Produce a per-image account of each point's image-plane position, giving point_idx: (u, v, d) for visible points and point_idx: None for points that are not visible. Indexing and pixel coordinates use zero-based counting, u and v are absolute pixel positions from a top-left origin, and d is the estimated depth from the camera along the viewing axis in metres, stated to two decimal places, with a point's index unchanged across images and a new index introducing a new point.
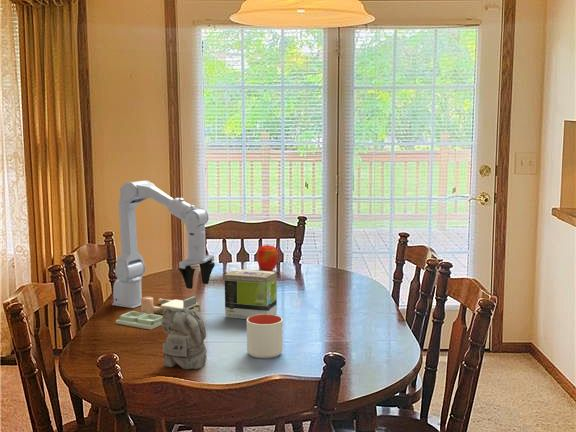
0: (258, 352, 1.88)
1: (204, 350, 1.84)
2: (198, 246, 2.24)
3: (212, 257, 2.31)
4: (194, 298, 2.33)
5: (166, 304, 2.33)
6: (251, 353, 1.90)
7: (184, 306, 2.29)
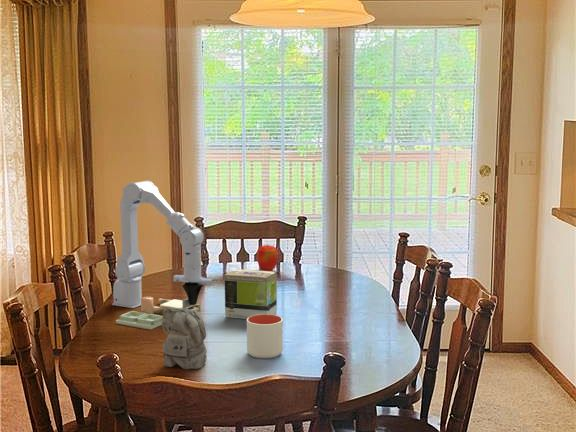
0: (258, 352, 1.88)
1: (204, 350, 1.84)
2: (194, 265, 2.27)
3: (206, 282, 2.26)
4: None
5: (165, 304, 2.33)
6: (251, 353, 1.90)
7: (183, 306, 2.29)
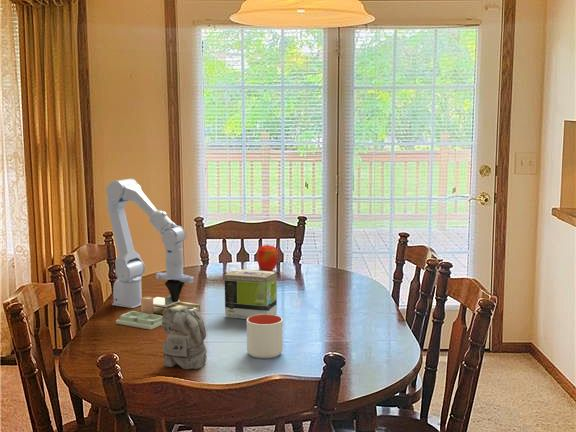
0: (258, 352, 1.88)
1: (204, 350, 1.84)
2: (176, 263, 2.30)
3: (188, 279, 2.29)
4: None
5: None
6: (251, 353, 1.90)
7: (166, 303, 2.33)
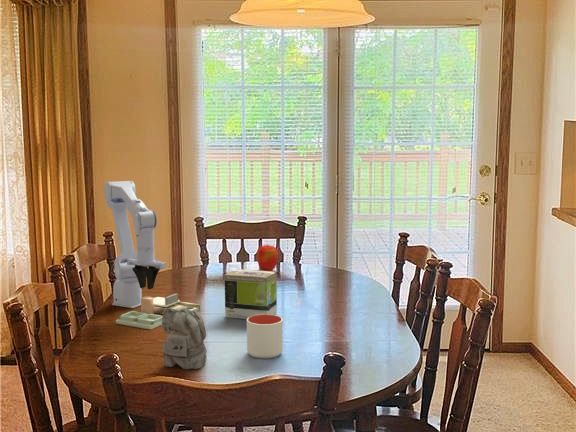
0: (258, 352, 1.88)
1: (204, 350, 1.84)
2: (142, 248, 2.23)
3: (159, 264, 2.23)
4: (176, 295, 2.37)
5: None
6: (251, 353, 1.90)
7: (166, 303, 2.33)
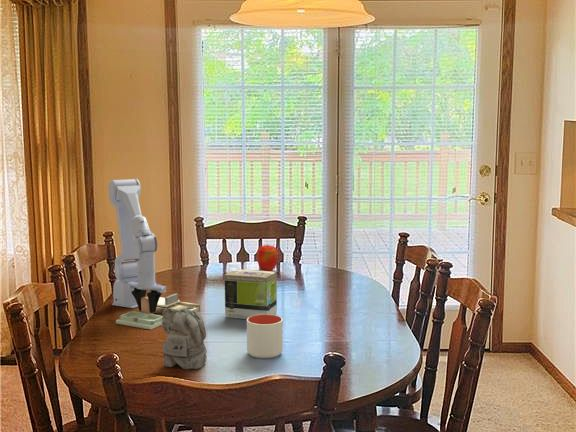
0: (258, 352, 1.88)
1: (204, 350, 1.84)
2: (142, 272, 2.24)
3: (160, 289, 2.24)
4: (176, 295, 2.37)
5: None
6: (251, 353, 1.90)
7: (166, 303, 2.33)
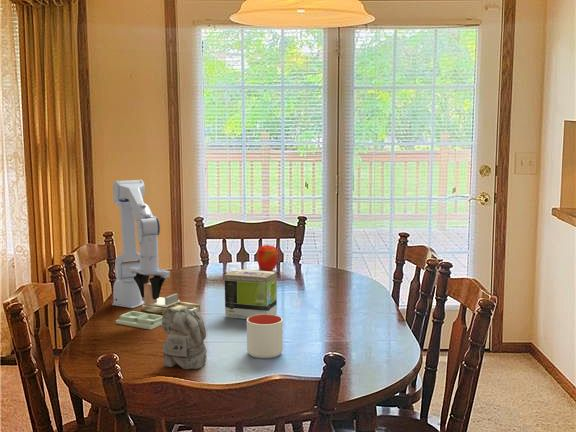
0: (258, 352, 1.88)
1: (204, 350, 1.84)
2: (144, 256, 2.14)
3: (163, 273, 2.14)
4: (176, 295, 2.37)
5: None
6: (251, 353, 1.90)
7: (166, 303, 2.33)
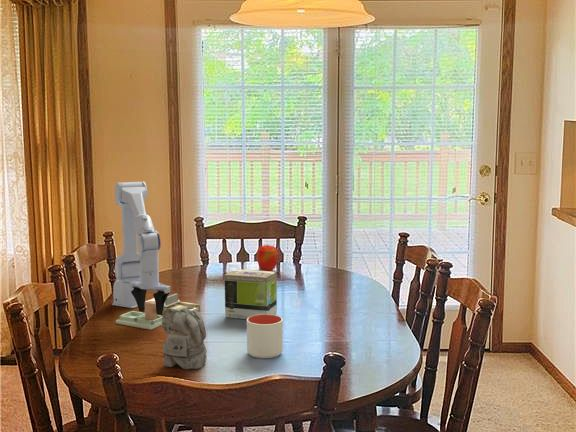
0: (258, 352, 1.88)
1: (204, 350, 1.84)
2: (145, 271, 2.15)
3: (164, 288, 2.14)
4: (176, 295, 2.37)
5: None
6: (251, 353, 1.90)
7: (166, 303, 2.33)
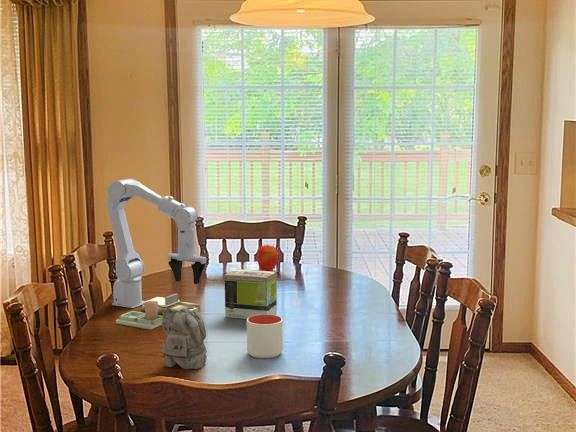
0: (258, 352, 1.88)
1: (204, 350, 1.84)
2: (189, 243, 2.29)
3: (200, 259, 2.29)
4: (176, 295, 2.37)
5: None
6: (251, 353, 1.90)
7: (166, 303, 2.33)
